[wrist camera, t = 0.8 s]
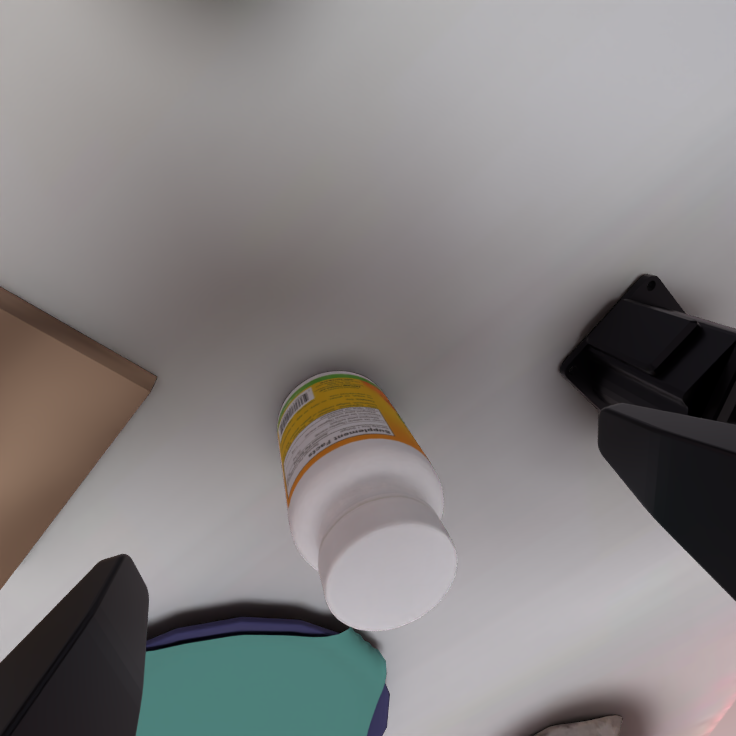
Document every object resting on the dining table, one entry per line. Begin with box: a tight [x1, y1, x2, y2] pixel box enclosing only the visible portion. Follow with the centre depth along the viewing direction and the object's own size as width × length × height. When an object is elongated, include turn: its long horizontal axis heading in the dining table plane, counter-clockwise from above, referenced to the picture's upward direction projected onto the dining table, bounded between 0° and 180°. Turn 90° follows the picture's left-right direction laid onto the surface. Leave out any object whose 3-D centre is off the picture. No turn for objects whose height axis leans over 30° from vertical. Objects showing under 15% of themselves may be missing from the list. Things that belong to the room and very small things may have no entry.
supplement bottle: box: [277, 371, 457, 631], centre depth 17 cm, size 5×5×10 cm
